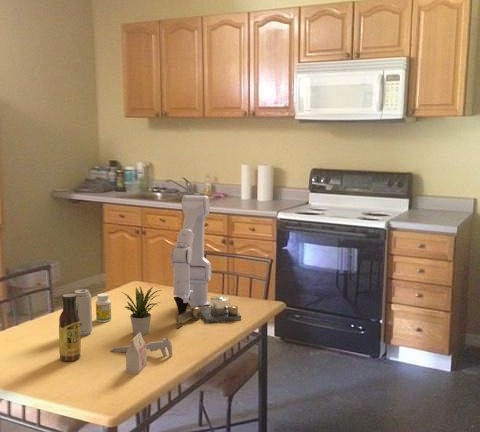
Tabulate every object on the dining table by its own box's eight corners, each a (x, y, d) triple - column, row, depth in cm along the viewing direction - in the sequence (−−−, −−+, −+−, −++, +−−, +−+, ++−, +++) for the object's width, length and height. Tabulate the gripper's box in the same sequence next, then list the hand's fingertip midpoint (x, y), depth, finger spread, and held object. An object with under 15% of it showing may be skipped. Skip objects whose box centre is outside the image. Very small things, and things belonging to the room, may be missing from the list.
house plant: (173, 332, 199) (172, 286, 196) (141, 343, 189) (140, 295, 186) (147, 323, 208) (146, 279, 206) (115, 333, 198) (114, 286, 196)
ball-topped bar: (194, 315, 216) (194, 305, 215) (201, 317, 213) (201, 307, 213) (173, 323, 207) (173, 312, 207) (180, 325, 205) (180, 314, 204)
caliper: (172, 356, 179) (172, 337, 178) (171, 358, 178) (170, 338, 177) (111, 351, 183) (110, 332, 182) (109, 352, 182) (109, 333, 181)
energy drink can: (70, 333, 198) (69, 291, 195) (86, 329, 202) (84, 287, 200) (80, 337, 194) (78, 294, 191) (95, 333, 198) (94, 290, 196)
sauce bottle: (69, 364, 172) (66, 299, 169) (55, 359, 175) (52, 296, 172) (86, 356, 178) (83, 294, 175) (72, 352, 181) (69, 291, 178)
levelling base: (167, 314, 218) (166, 296, 217) (229, 308, 226) (229, 291, 225) (176, 329, 202) (176, 310, 201) (243, 321, 210) (243, 303, 209)
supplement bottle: (112, 321, 210) (111, 295, 209) (97, 323, 208) (96, 297, 207) (109, 317, 215) (109, 292, 214) (95, 318, 213) (94, 293, 211)
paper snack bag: (126, 373, 166) (125, 339, 165) (134, 363, 173) (134, 331, 171) (138, 374, 165) (137, 340, 164) (146, 364, 172) (146, 332, 170)
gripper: (197, 284, 203) (197, 321, 205) (187, 274, 216) (188, 308, 218) (177, 286, 200) (178, 323, 203) (169, 275, 214) (169, 310, 216)
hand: (182, 316), depth 210 cm, fingers closed, pressing on ball-topped bar
